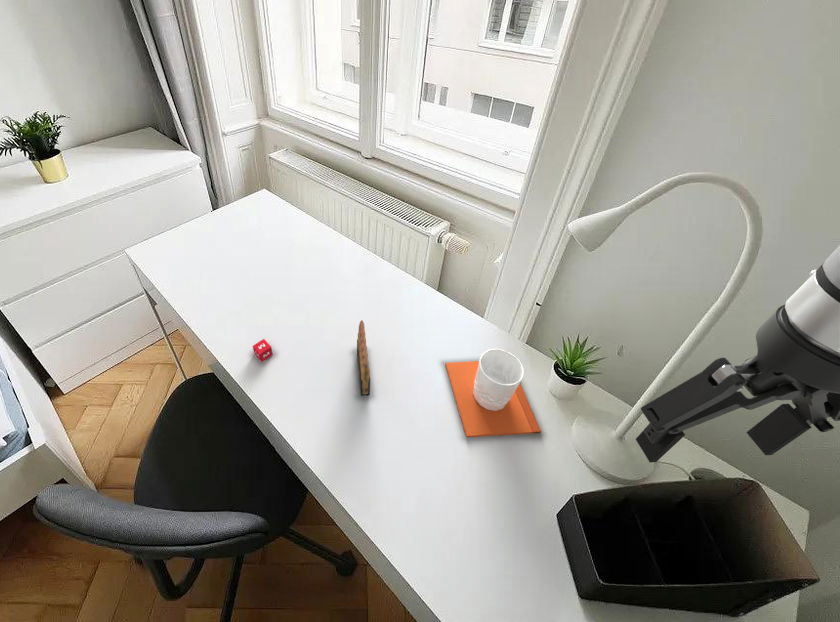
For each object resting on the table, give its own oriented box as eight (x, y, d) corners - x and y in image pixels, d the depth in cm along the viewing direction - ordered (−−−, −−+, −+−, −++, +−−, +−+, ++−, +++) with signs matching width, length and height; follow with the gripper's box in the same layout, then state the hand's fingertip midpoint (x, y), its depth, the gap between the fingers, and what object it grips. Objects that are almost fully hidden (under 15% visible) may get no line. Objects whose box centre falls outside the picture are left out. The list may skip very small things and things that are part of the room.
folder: (540, 433, 76) (541, 431, 76) (466, 437, 76) (466, 435, 76) (508, 360, 89) (509, 358, 88) (445, 364, 88) (445, 362, 88)
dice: (261, 362, 90) (259, 354, 88) (254, 354, 92) (252, 345, 90) (273, 355, 91) (271, 346, 89) (265, 346, 93) (263, 338, 91)
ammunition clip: (356, 352, 91) (356, 317, 84) (365, 352, 91) (365, 316, 84) (360, 396, 83) (361, 361, 75) (369, 395, 83) (371, 360, 75)
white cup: (484, 371, 86) (495, 342, 80) (518, 397, 81) (532, 368, 75) (461, 393, 82) (470, 364, 76) (496, 422, 77) (508, 393, 71)
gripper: (928, 291, 38) (777, 410, 51) (663, 305, 37) (581, 422, 50) (1041, 360, 32) (837, 474, 45) (728, 378, 31) (616, 488, 45)
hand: (702, 447), depth 48 cm, fingers open, 13 cm apart
